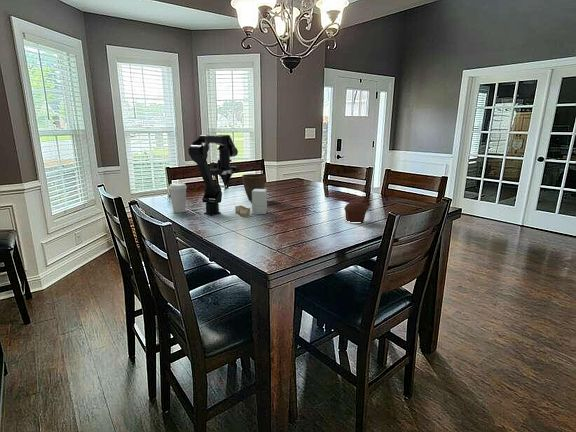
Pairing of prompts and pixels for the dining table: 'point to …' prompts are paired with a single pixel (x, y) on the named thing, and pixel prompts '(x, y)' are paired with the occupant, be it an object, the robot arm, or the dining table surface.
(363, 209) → the muffin
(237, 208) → the marked block
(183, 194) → the coffee cup
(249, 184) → the plant pot
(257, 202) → the supplement box
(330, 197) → the dining table surface
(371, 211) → the dining table surface
